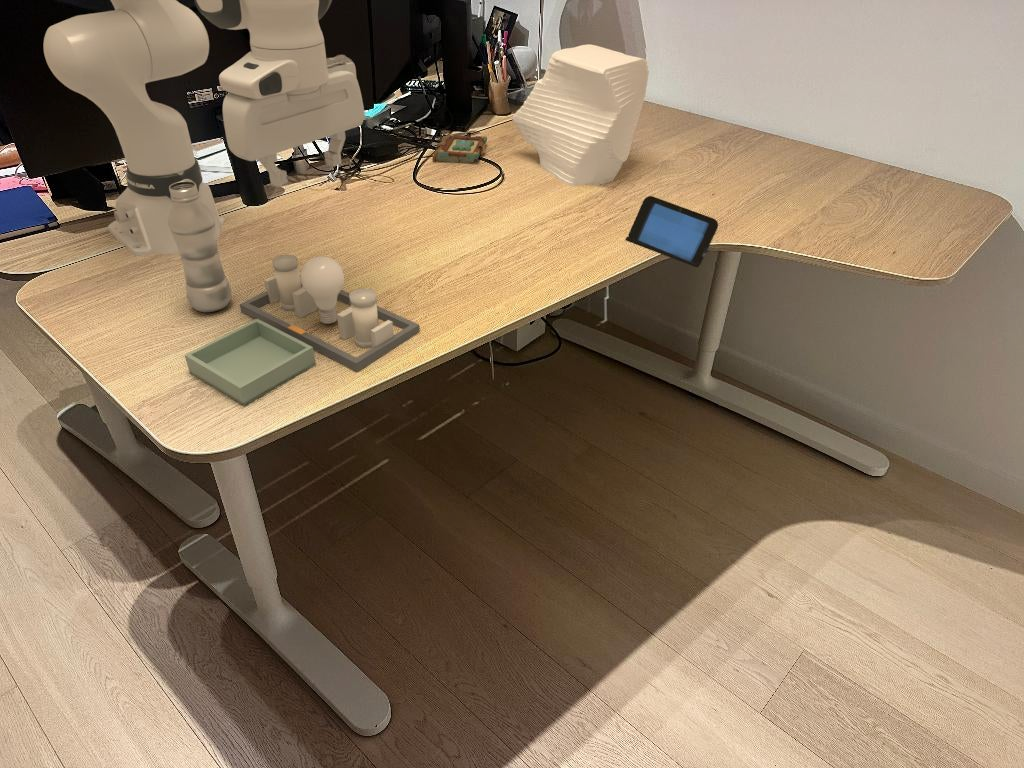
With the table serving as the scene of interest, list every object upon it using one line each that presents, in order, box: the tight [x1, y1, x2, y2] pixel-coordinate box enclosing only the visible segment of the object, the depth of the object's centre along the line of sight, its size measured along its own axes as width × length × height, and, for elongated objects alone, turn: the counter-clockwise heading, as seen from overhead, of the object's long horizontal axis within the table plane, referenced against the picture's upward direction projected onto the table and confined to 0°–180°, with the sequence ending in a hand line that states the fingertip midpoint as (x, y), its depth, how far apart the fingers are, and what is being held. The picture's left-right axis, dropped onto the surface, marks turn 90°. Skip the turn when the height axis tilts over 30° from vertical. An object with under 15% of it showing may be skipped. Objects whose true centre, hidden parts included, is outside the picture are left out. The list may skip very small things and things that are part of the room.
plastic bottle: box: [168, 181, 232, 313], centre depth 113 cm, size 6×7×20 cm
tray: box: [184, 319, 317, 407], centre depth 105 cm, size 12×12×3 cm
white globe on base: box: [271, 253, 303, 312], centre depth 117 cm, size 4×4×8 cm
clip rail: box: [239, 274, 421, 373], centre depth 115 cm, size 26×13×4 cm, turn 53°
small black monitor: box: [624, 195, 719, 268], centre depth 131 cm, size 16×13×9 cm
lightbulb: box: [300, 255, 345, 325], centre depth 112 cm, size 6×6×11 cm
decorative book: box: [431, 133, 488, 164], centre depth 171 cm, size 13×18×5 cm
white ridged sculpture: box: [511, 43, 649, 187], centre depth 161 cm, size 21×27×26 cm
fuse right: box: [349, 287, 380, 349], centre depth 109 cm, size 4×4×8 cm
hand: (307, 174), depth 102 cm, fingers open, 8 cm apart
